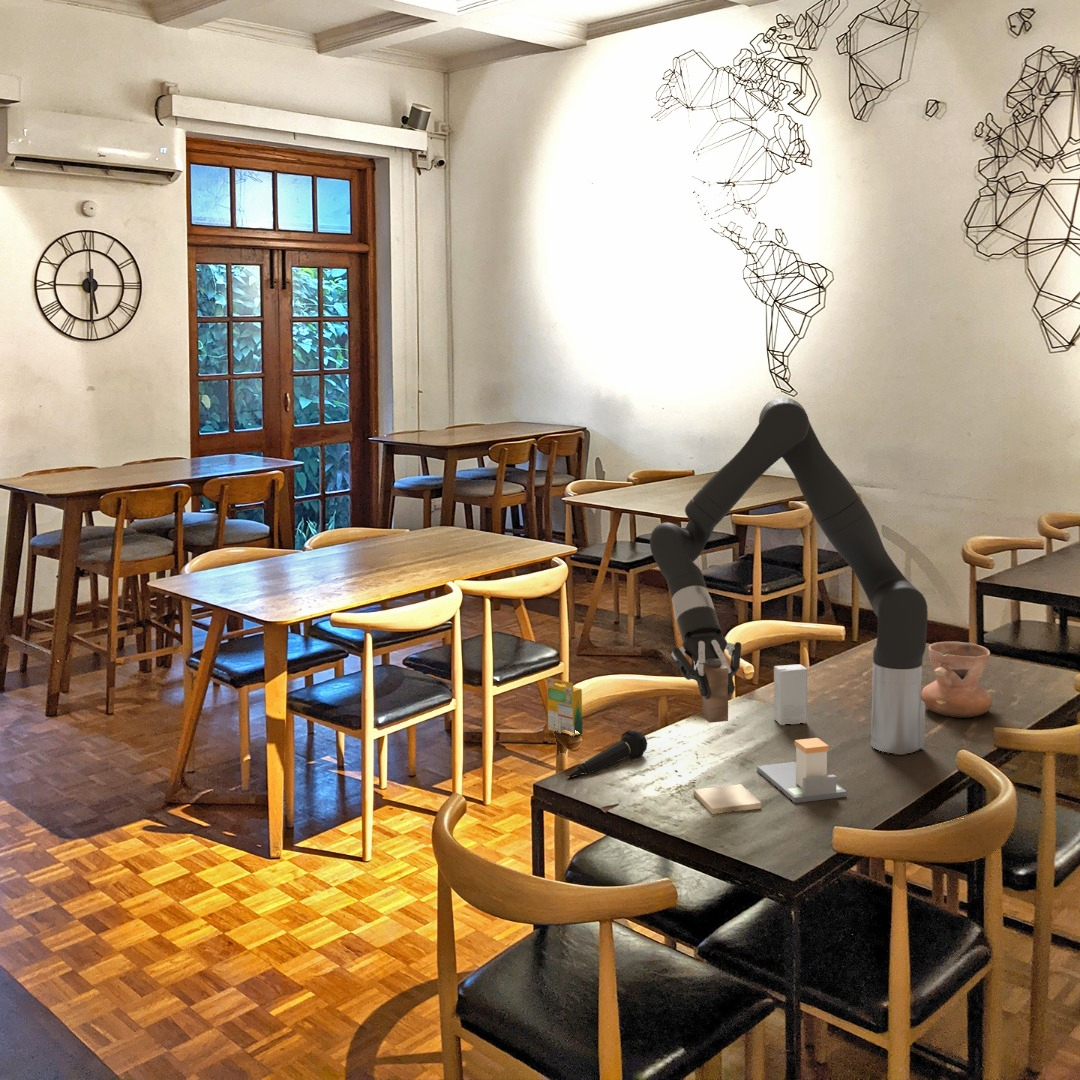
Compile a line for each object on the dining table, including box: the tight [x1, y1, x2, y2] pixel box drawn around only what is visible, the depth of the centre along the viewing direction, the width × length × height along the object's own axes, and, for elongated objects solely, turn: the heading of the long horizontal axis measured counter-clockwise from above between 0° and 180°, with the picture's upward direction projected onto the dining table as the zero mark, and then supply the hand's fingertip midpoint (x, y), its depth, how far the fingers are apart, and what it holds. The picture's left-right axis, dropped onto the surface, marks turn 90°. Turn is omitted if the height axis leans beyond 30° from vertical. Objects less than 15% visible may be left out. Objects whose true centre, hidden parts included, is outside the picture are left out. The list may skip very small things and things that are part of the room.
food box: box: [546, 676, 583, 738], centre depth 246 cm, size 7×3×12 cm, turn 48°
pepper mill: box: [701, 658, 729, 724], centre depth 216 cm, size 4×4×11 cm
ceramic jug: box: [921, 641, 993, 718], centre depth 253 cm, size 18×14×14 cm
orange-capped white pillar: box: [794, 737, 830, 788], centre depth 211 cm, size 4×4×8 cm
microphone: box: [567, 729, 648, 777], centre depth 227 cm, size 6×6×20 cm
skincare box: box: [773, 663, 808, 726], centre depth 249 cm, size 6×4×12 cm
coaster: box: [693, 783, 762, 815], centre depth 209 cm, size 9×9×1 cm
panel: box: [756, 761, 848, 804], centre depth 216 cm, size 10×16×4 cm, turn 13°
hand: (719, 695), depth 214 cm, fingers closed on pepper mill, 3 cm apart
